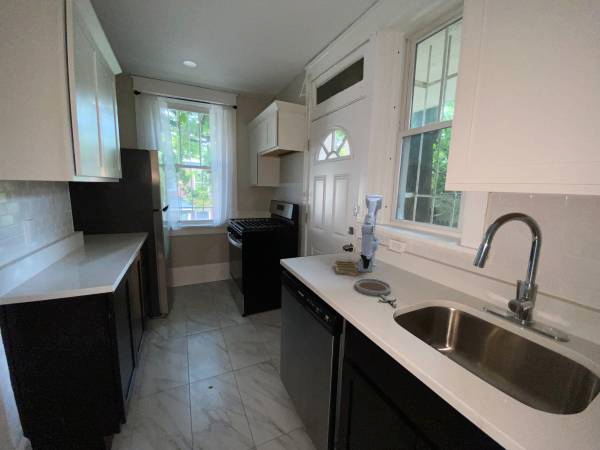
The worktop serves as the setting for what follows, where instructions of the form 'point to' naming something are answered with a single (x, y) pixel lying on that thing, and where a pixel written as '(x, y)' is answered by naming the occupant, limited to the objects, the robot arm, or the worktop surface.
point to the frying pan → (375, 288)
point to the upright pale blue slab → (361, 268)
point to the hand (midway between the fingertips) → (365, 267)
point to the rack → (345, 268)
